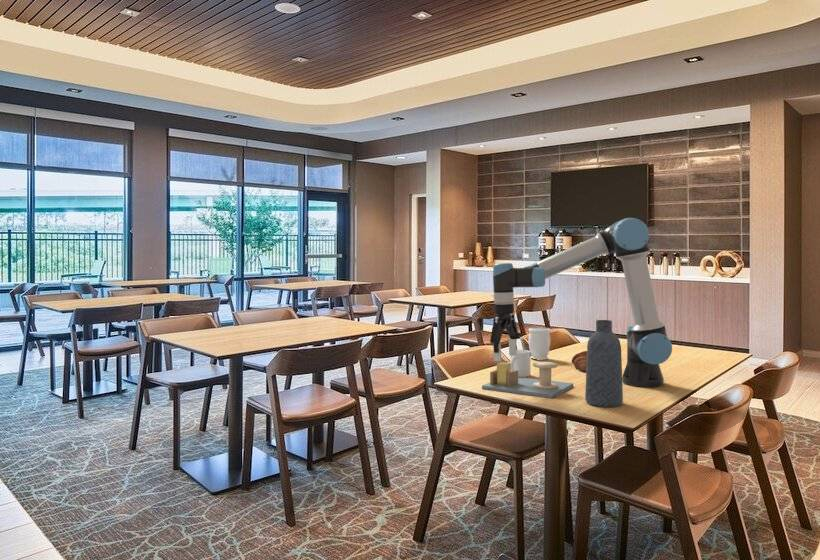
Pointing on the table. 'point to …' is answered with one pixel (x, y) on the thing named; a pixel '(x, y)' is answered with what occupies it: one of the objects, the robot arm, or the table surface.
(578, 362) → the pastry
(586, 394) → the vase
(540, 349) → the jar
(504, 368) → the beige upright block
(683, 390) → the table surface
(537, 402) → the table surface
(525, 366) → the mug
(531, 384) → the board
